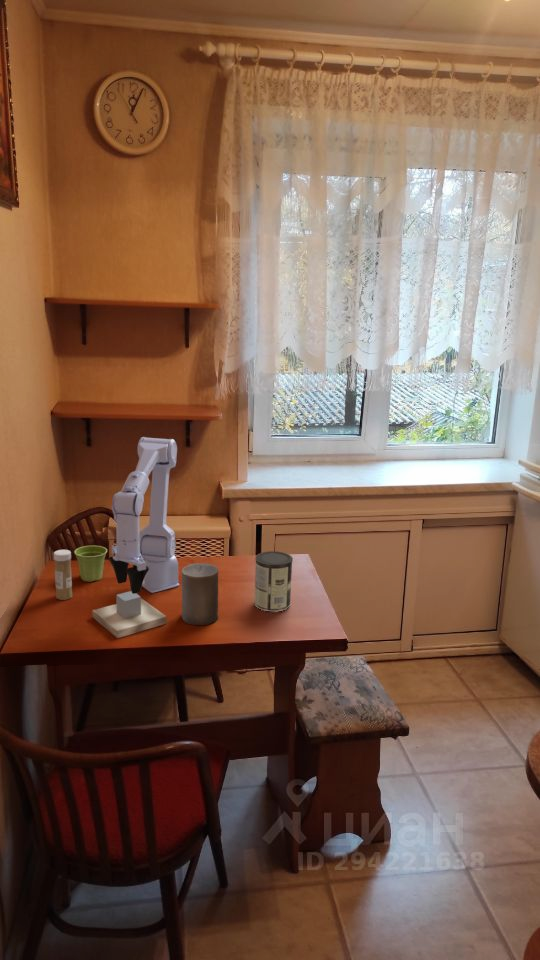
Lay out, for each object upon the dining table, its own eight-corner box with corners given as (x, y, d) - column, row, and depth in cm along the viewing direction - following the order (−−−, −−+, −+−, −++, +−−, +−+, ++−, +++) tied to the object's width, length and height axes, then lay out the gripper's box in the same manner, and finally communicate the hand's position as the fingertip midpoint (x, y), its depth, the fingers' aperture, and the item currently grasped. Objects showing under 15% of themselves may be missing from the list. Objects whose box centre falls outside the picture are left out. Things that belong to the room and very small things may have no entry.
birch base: (140, 604, 188) (139, 597, 188) (166, 623, 178) (166, 616, 177) (92, 617, 179) (92, 610, 179) (117, 638, 169) (117, 631, 169)
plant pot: (82, 570, 209) (82, 544, 207) (112, 573, 208) (111, 546, 206) (70, 582, 200) (69, 555, 198) (100, 585, 199) (100, 557, 197)
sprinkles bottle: (74, 598, 190) (73, 553, 187) (58, 601, 188) (56, 556, 184) (69, 592, 194) (67, 547, 190) (53, 595, 191) (51, 550, 188)
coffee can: (271, 593, 198) (273, 548, 195) (297, 605, 191) (300, 558, 188) (246, 604, 191) (247, 556, 187) (273, 616, 184) (275, 567, 180)
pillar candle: (225, 618, 182) (226, 565, 178) (197, 629, 175) (197, 574, 171) (202, 606, 188) (202, 555, 185) (173, 617, 182) (173, 564, 178)
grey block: (132, 608, 181) (132, 590, 180) (140, 614, 178) (140, 596, 176) (116, 612, 178) (116, 594, 177) (125, 619, 175) (124, 601, 174)
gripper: (100, 532, 176) (101, 581, 179) (127, 549, 165) (128, 601, 168) (125, 527, 180) (126, 575, 183) (153, 543, 169) (153, 594, 173)
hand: (128, 587), depth 176 cm, fingers open, 7 cm apart
